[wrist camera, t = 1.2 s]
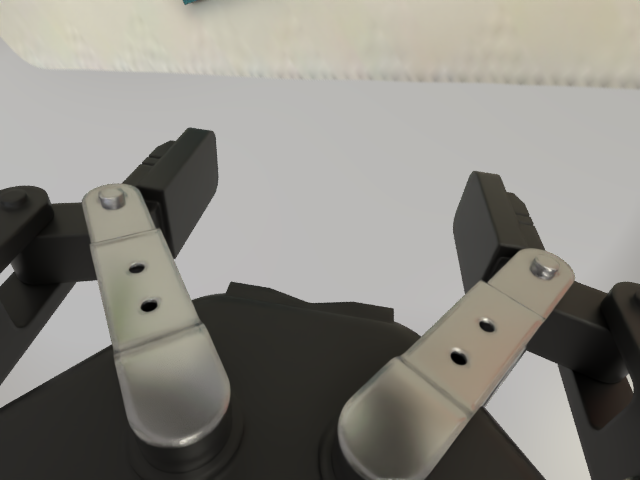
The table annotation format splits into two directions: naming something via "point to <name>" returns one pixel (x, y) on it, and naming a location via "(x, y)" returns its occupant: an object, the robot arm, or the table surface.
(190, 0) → the tile
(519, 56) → the table surface
